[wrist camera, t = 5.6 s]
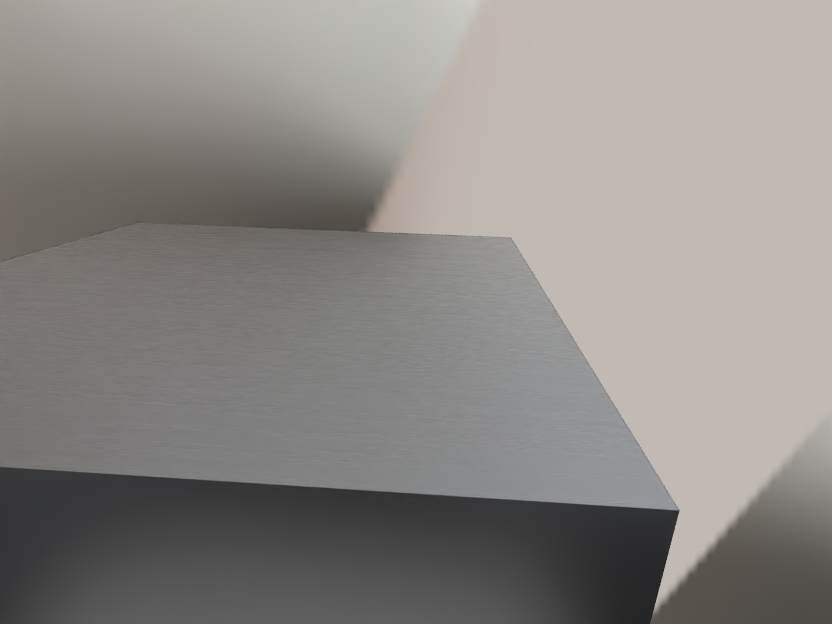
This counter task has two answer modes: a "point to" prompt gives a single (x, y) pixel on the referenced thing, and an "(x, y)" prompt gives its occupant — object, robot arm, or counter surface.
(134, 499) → the gray rectangular block
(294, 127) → the counter surface
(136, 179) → the counter surface
